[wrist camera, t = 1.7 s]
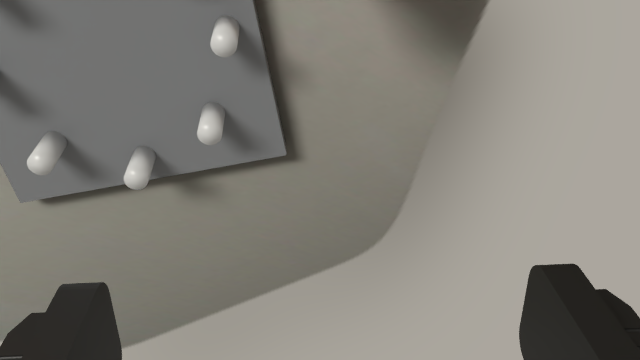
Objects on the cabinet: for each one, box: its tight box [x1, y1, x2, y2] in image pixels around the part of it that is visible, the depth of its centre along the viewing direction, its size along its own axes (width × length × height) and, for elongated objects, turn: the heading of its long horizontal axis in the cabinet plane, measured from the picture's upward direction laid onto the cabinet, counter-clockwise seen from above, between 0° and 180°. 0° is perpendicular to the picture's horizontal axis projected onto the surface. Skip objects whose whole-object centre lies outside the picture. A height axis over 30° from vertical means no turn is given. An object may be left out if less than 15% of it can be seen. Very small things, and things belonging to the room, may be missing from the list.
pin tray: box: [0, 0, 287, 203], centre depth 29 cm, size 15×15×4 cm
